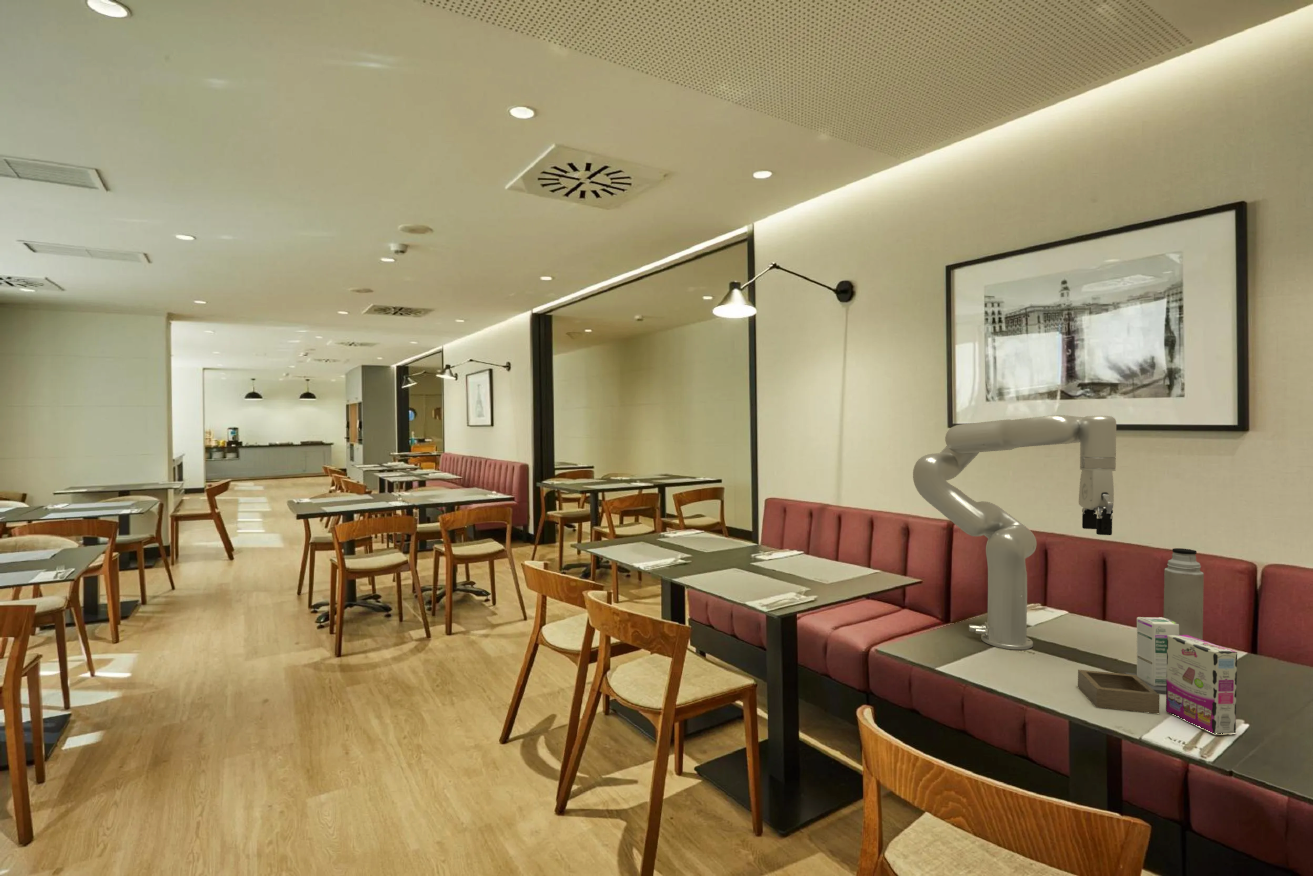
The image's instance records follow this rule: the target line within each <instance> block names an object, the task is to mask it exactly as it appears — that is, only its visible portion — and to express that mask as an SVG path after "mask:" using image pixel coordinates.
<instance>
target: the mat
mask: <svg viewBox="0 0 1313 876" xmlns="http://www.w3.org/2000/svg"><path fill="white" fill-rule="evenodd" d="M1124 674H1131V675H1136V676H1137V672H1135V673H1134V672H1124ZM1141 680H1142V679H1141ZM1142 681H1143V680H1142ZM1143 682H1145V681H1143ZM1145 683H1146V684H1147V685H1148V686H1149V687H1151V688H1152V689H1153V690H1154V691H1155V692H1157V693H1158V694H1159V695H1166V686H1152V685H1151V684H1149V683H1147V682H1145Z"/></svg>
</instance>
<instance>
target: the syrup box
mask: <svg viewBox="0 0 1313 876" xmlns="http://www.w3.org/2000/svg"><path fill="white" fill-rule="evenodd" d="M1167 635H1179V624H1177V623H1176V622H1174V621H1171V620H1169V619H1166V618H1164V617H1162V616H1161V617H1160V616H1159V617H1147V616H1146V617H1144V616H1142V617H1141V616H1138V617H1136V674H1137V676H1138V677H1139V678H1140V679H1142V680H1143V681H1145V682H1147V683H1149V684H1151V685H1152V686H1166V677H1167Z"/></svg>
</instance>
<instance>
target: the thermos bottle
mask: <svg viewBox="0 0 1313 876" xmlns="http://www.w3.org/2000/svg"><path fill="white" fill-rule="evenodd" d="M1196 555H1197V550H1195V549H1192V548H1191V549H1189V548H1179V547H1178V548H1176V547H1175V548H1172V554H1171V559H1169V560H1167V567H1165V568H1164V574H1163V575H1164V581H1163V582H1164V586H1163V587H1164V588H1163V618H1166V619H1169V620H1171V621H1174V622H1176V623H1177V624H1179V635H1189V636H1192V637H1195V638H1198V639H1200V640H1203V634H1204V631H1203V630H1204V629H1203V628H1204V586H1205V585H1204V584H1205V583H1204V582H1205V581H1204V580H1205V579H1204V577H1205V575H1204V572H1203V571H1201V567H1202V565H1201V563H1200V562H1198V561H1197V556H1196ZM1203 641H1204V640H1203Z"/></svg>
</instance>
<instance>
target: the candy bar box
mask: <svg viewBox="0 0 1313 876" xmlns="http://www.w3.org/2000/svg"><path fill="white" fill-rule="evenodd" d="M1237 678H1238V652H1237V651H1235V650H1233V649H1229V648H1226V647H1224V646H1221V645H1217V644H1215V643H1212V642H1209V641H1206V640H1200V639H1198V638H1195V637H1192V636H1189V635H1167V677H1166V694H1165V712H1166V713H1167V714H1170V713H1171V714H1170V715H1172V714H1174V715H1176V716H1179V717H1180V718H1182V719H1185V720H1186V721H1188V722H1190V723H1193V724H1195V725H1197V726H1200V727H1201V728H1204V729H1206V730H1208V731H1210V732H1212V733H1214V734H1216V733H1217V734H1221V733H1222V734H1223V733H1236V732H1237V731H1236V730H1237V723H1236V722H1237V688H1238V687H1237V683H1238V680H1237ZM1174 715H1173V716H1174ZM1176 716H1175V717H1176ZM1180 718H1179V719H1180ZM1182 719H1181V720H1182ZM1186 721H1185V722H1186ZM1188 722H1187V723H1188ZM1190 723H1189V724H1190ZM1236 734H1237V733H1236Z"/></svg>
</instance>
